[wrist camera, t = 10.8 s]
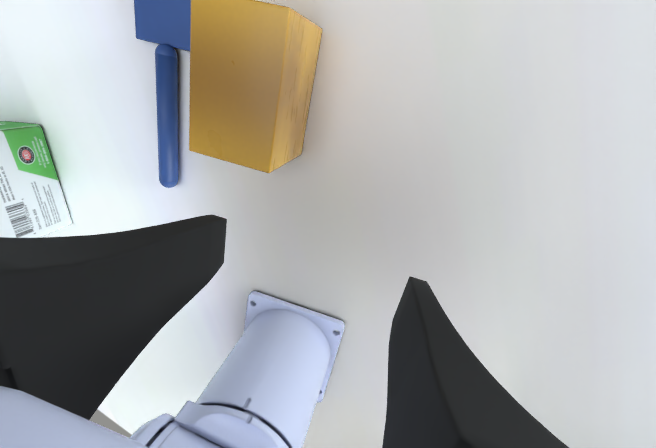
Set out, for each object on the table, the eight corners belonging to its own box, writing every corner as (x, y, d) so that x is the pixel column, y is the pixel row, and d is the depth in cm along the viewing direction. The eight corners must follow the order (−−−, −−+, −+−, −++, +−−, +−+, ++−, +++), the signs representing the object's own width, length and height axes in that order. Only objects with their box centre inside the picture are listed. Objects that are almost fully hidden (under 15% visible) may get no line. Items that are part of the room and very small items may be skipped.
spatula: (201, 192, 23) (190, 197, 22) (148, 176, 24) (136, 181, 22) (208, -64, 17) (194, -75, 16) (136, -77, 17) (117, -88, 16)
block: (301, 154, 20) (269, 173, 16) (237, 137, 21) (188, 150, 16) (322, 28, 17) (290, 7, 12) (246, 12, 18) (190, -14, 13)
